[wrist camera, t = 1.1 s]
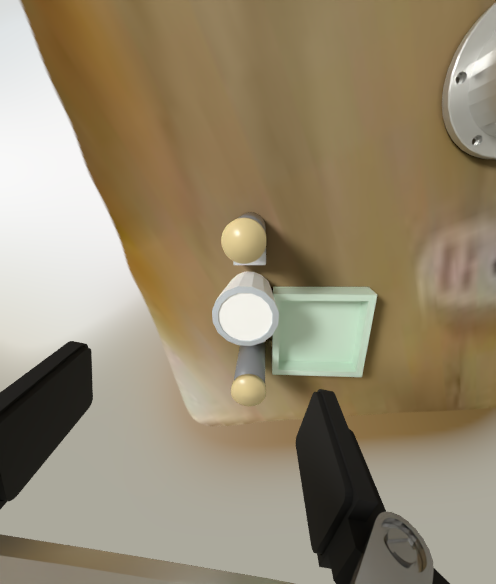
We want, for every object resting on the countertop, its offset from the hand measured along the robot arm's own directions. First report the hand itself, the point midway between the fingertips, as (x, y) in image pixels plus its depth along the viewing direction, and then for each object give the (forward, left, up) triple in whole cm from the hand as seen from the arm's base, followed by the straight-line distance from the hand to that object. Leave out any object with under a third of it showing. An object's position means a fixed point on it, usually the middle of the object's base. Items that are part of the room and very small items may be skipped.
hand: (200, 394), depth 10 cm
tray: (-9, +9, -21) cm, 25 cm away
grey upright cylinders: (-1, +4, -21) cm, 21 cm away
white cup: (-1, +4, -21) cm, 22 cm away
